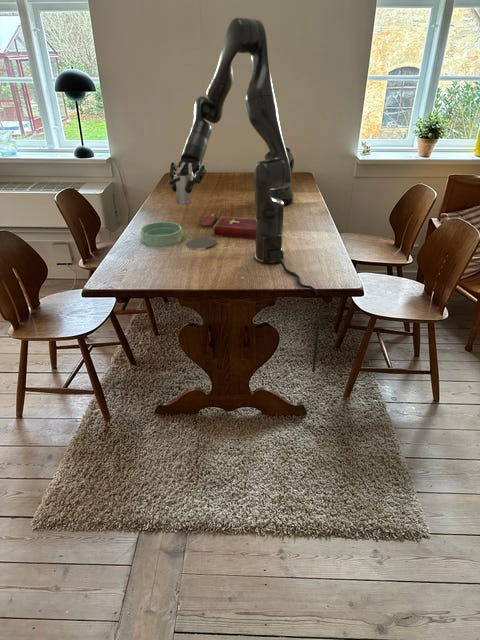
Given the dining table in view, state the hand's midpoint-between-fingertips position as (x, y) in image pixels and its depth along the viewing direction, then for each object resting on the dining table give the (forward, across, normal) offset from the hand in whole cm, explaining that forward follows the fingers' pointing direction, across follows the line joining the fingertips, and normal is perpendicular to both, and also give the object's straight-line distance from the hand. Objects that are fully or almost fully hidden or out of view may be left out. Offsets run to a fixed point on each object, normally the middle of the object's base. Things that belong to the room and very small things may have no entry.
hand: (180, 191), depth 159 cm
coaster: (+12, +6, +16) cm, 21 cm away
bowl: (+13, -10, +15) cm, 23 cm away
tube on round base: (+4, 0, +2) cm, 5 cm away
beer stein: (-32, +13, +60) cm, 70 cm away
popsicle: (-4, -3, +33) cm, 33 cm away
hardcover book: (0, +15, +28) cm, 32 cm away
